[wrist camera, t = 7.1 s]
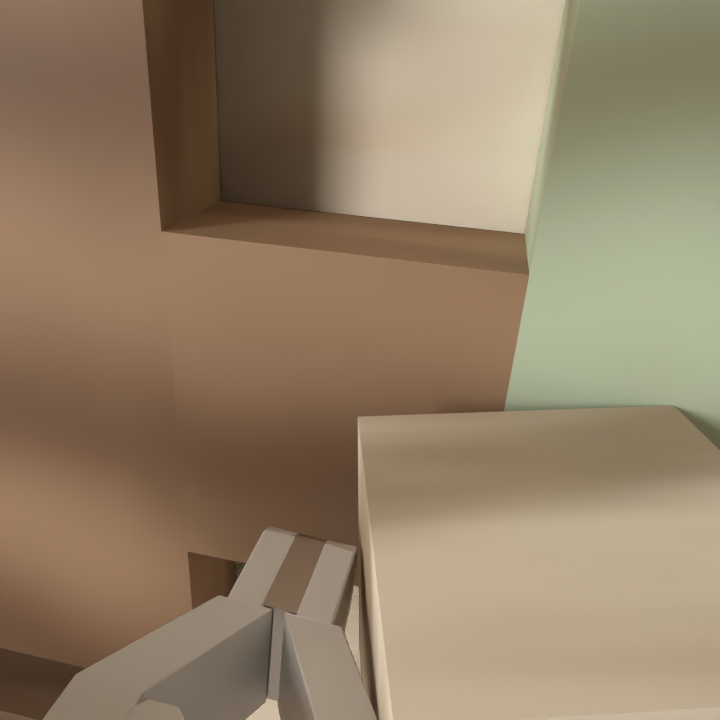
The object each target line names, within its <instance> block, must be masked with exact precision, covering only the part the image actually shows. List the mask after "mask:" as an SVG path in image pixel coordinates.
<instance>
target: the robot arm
mask: <svg viewBox="0 0 720 720" xmlns="http://www.w3.org/2000/svg"><path fill="white" fill-rule="evenodd" d="M357 557H358V548H357V547H356V546H352V545H347V544H342V543H338V542H333V541H329V540H323V539H320V538H316V537H312V536H308V535H304V534H301V533H299V534H297V533H294V532H291V531H287V530H283V529H279V528H276V527H272V526H269V527H268V528H267V529H265V530H264V531H263V533H262V535H261V537H260V539H259V540H258V542H257V544H256V546H255V548H254V550H253V551H252V553H251V555H250V557H249V559H248V561H247V562H246V564H245V566H244V568H243V570H242V572H241V574H240V575H239V577H238V579H237V581H236V583H235V585H234V586H233V588H232V590H231V592H230V594H229V596H228V597H224V596H220V595H218V596H216V597H215V598H213V599H211V600H209V601H207V602H205V603H204V604H202V605H200V606H198V607H196V608H195V609H193V610H191V611H189V612H187V613H186V614H184V615H182V616H180V617H178V618H177V619H175V620H173V621H171V622H169V623H167V624H166V625H164V626H162V627H160V628H158V629H157V630H155V631H153V632H151V633H149V634H148V635H146V636H144V637H142V638H140V639H139V640H137V641H135V642H133V643H131V644H129V645H128V646H126V647H124V648H122V649H120V650H119V651H117V652H115V653H113V654H111V655H110V656H108V657H106V658H104V659H102V660H101V661H99V662H97V663H95V664H93V665H92V666H90V667H88V668H86V669H84V670H82V671H81V672H79V673H77V674H76V675H75V676H74V677H73V679H72V680H71V681H70V683H69V684H68V685H67V687H66V688H65V690H64V691H63V692H62V694H61V695H60V696H59V698H58V699H57V700H56V702H55V703H54V705H53V706H52V707H51V709H50V710H49V711H48V713H47V714H46V715H45V717H44V718H43V720H245V719H246V718H248V717H249V716H250V715H251V714H252V713H253V712H254V711H256V710H257V709H258V708H259V707H260V706H261V705H262V704H264V703H265V702H266V698H268V699H272V700H276V701H278V709H279V714H280V719H281V720H377V718H376V715H375V713H374V710H373V707H372V705H371V702H370V700H369V697H368V694H367V692H366V689H365V686H364V684H363V681H362V679H361V676H360V673H359V671H358V668H357V665H356V663H355V660H354V658H353V655H352V652H351V650H350V647H349V644H348V642H347V639H346V637H345V634H344V633H345V628H346V623H347V619H348V615H349V610H350V604H351V599H352V592H353V584H354V578H355V571H356V564H357Z"/></svg>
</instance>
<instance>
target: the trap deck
mask: <svg viewBox="0 0 720 720" xmlns="http://www.w3.org/2000/svg"><path fill="white" fill-rule="evenodd" d="M669 405H674V406H675V407H676V408H677V409H678V410H679V411H680V412H681V413H682V414H683V415H684V416H685V417H686V418H687V419H688V420H689V421H690V422H691V423H692V424H693V425H694V426H695V427H696V428H697V429H698V430H699V431H701V432H702V433H703V434H704V435H705V436H706V437H707V438H708V439H709V440H710V441H711V442H712V443H713V444H714V445H715V446H716V447H717V448H718V449H719V450H720V0H566V4H565V10H564V15H563V21H562V27H561V32H560V38H559V44H558V49H557V55H556V60H555V66H554V72H553V77H552V83H551V89H550V94H549V100H548V106H547V111H546V117H545V122H544V128H543V134H542V139H541V145H540V151H539V156H538V162H537V167H536V173H535V179H534V184H533V190H532V196H531V201H530V207H529V213H528V218H527V224H526V229H525V234H520V233H511V232H501V231H492V230H483V229H474V228H464V227H455V226H446V225H437V224H427V223H418V222H409V221H400V220H390V219H381V218H372V217H363V216H354V215H344V214H335V213H326V212H317V211H307V210H298V209H289V208H280V207H270V206H261V205H252V204H243V203H234V202H224V201H221V190H220V165H219V139H218V113H217V88H216V62H215V36H214V11H213V0H0V720H43V718H44V717H45V715H46V714H47V713H48V711H49V710H50V709H51V707H52V706H53V705H54V703H55V702H56V700H57V699H58V698H59V696H60V695H61V694H62V692H63V691H64V690H65V688H66V687H67V685H68V684H69V683H70V681H71V680H72V679H73V677H74V676H75V675H76V674H77V673H79V672H81V671H82V670H84V669H86V668H88V667H90V666H92V665H93V664H95V663H97V662H99V661H101V660H102V659H104V658H106V657H108V656H110V655H111V654H113V653H115V652H117V651H119V650H120V649H122V648H124V647H126V646H128V645H129V644H131V643H133V642H135V641H137V640H139V639H140V638H142V637H144V636H146V635H148V634H149V633H151V632H153V631H155V630H157V629H158V628H160V627H162V626H164V625H166V624H167V623H169V622H171V621H173V620H175V619H177V618H178V617H180V616H182V615H184V614H186V613H187V612H189V611H191V610H193V609H195V608H196V607H198V606H200V605H202V604H204V603H205V602H207V601H209V600H211V599H213V598H215V597H216V596H218V595H220V596H224V597H228V596H229V594H230V592H231V590H232V588H233V586H234V585H235V583H236V576H235V561H237V562H242V563H246V562H247V561H248V559H249V557H250V555H251V553H252V551H253V550H254V548H255V546H256V544H257V542H258V540H259V539H260V537H261V535H262V533H263V531H264V530H265V529H267V528H268V527H269V526H272V527H276V528H279V529H283V530H287V531H291V532H294V533H297V534H299V533H301V534H304V535H308V536H312V537H316V538H320V539H323V540H329V541H333V542H338V543H342V544H347V545H352V546H356V547H357V548H358V557H357V564H356V571H355V578H354V584H353V585H356V586H359V531H358V417H363V416H390V415H418V414H446V413H474V412H502V411H530V410H557V409H585V408H613V407H641V406H669Z"/></svg>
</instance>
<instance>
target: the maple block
mask: <svg viewBox="0 0 720 720" xmlns="http://www.w3.org/2000/svg"><path fill="white" fill-rule="evenodd" d="M358 531H359V649H360V663H361V677H362V681H363V684H364V686H365V689H366V692H367V694H368V697H369V700H370V702H371V705H372V707H373V710H374V713H375V715H376V718H377V720H720V450H719V449H718V448H717V447H716V446H715V445H714V444H713V443H712V442H711V441H710V440H709V439H708V438H707V437H706V436H705V435H704V434H703V433H702V432H701V431H699V430H698V429H697V428H696V427H695V426H694V425H693V424H692V423H691V422H690V421H689V420H688V419H687V418H686V417H685V416H684V415H683V414H682V413H681V412H680V411H679V410H678V409H677V408H676V407H675V406H674V405H669V406H641V407H613V408H585V409H557V410H530V411H502V412H474V413H446V414H418V415H390V416H363V417H358Z"/></svg>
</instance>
